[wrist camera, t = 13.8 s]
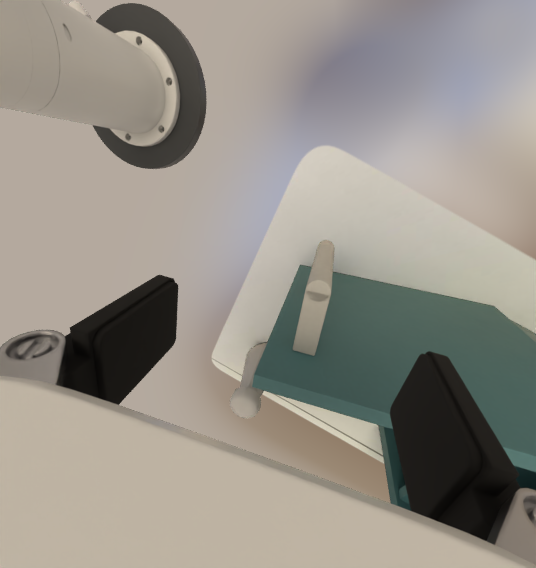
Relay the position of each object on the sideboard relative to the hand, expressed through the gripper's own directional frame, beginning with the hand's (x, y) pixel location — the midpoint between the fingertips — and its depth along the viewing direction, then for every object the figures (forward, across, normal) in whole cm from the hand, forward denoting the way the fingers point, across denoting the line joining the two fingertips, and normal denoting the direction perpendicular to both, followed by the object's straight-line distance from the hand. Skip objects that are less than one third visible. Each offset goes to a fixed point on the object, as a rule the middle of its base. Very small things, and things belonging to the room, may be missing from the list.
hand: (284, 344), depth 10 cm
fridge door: (+29, -12, +4) cm, 32 cm away
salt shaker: (+30, +3, +25) cm, 39 cm away
